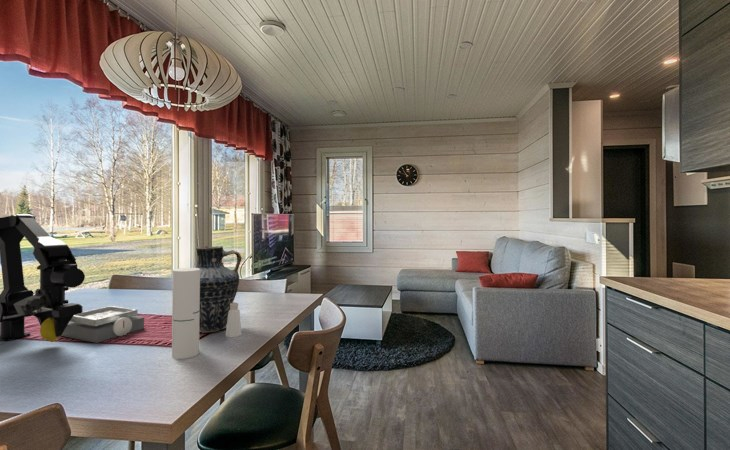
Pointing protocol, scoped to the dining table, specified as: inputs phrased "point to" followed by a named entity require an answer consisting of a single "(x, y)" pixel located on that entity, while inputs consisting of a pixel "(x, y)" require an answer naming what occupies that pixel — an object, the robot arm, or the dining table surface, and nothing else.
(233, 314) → the pepper shaker
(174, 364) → the dining table surface
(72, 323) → the scale
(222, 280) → the jug
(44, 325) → the lemon
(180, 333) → the cylindrical container
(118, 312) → the pan
